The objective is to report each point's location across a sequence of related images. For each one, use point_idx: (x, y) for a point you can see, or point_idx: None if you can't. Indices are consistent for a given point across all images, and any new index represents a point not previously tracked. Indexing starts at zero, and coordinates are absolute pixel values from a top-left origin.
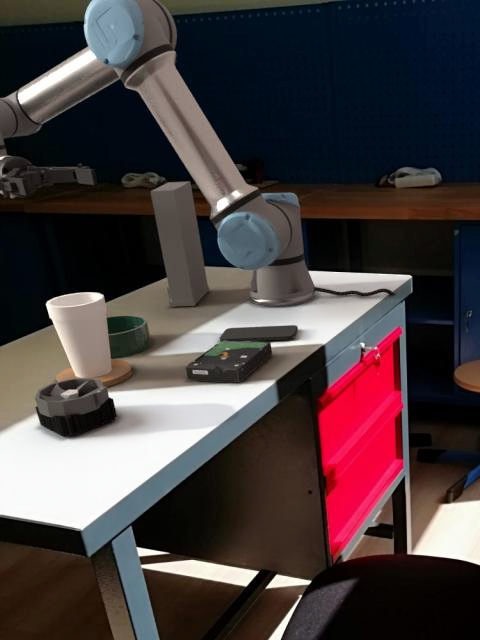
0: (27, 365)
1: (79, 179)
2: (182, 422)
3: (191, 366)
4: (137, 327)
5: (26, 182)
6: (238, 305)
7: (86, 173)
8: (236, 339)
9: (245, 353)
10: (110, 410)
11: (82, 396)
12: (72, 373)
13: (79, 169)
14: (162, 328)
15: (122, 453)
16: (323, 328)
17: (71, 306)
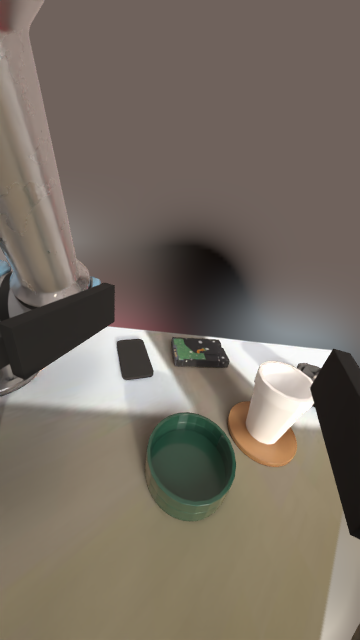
0: (297, 566)
1: (40, 356)
2: (267, 353)
3: (227, 358)
4: (189, 414)
5: (329, 357)
6: (12, 405)
7: (92, 306)
8: (150, 364)
9: (195, 342)
10: None
11: (316, 367)
12: (277, 446)
13: (54, 312)
14: (107, 452)
15: (305, 361)
16: (113, 334)
17: (300, 371)
